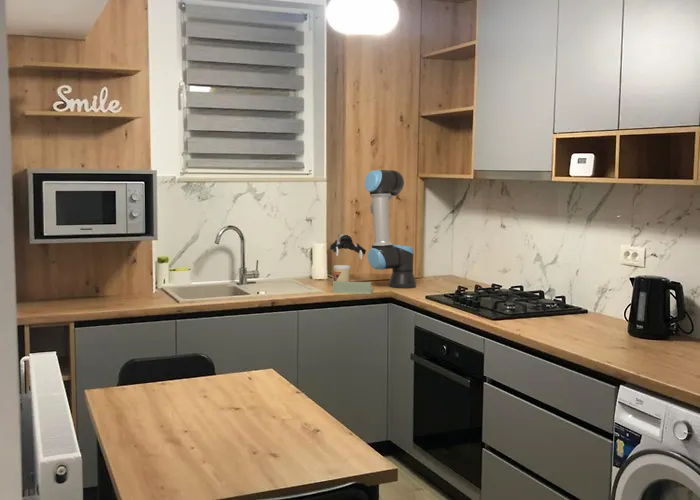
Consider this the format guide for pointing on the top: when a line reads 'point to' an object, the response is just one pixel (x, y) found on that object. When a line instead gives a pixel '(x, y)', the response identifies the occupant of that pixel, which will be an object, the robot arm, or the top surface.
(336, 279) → the coffee cup
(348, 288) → the green rectangular box
